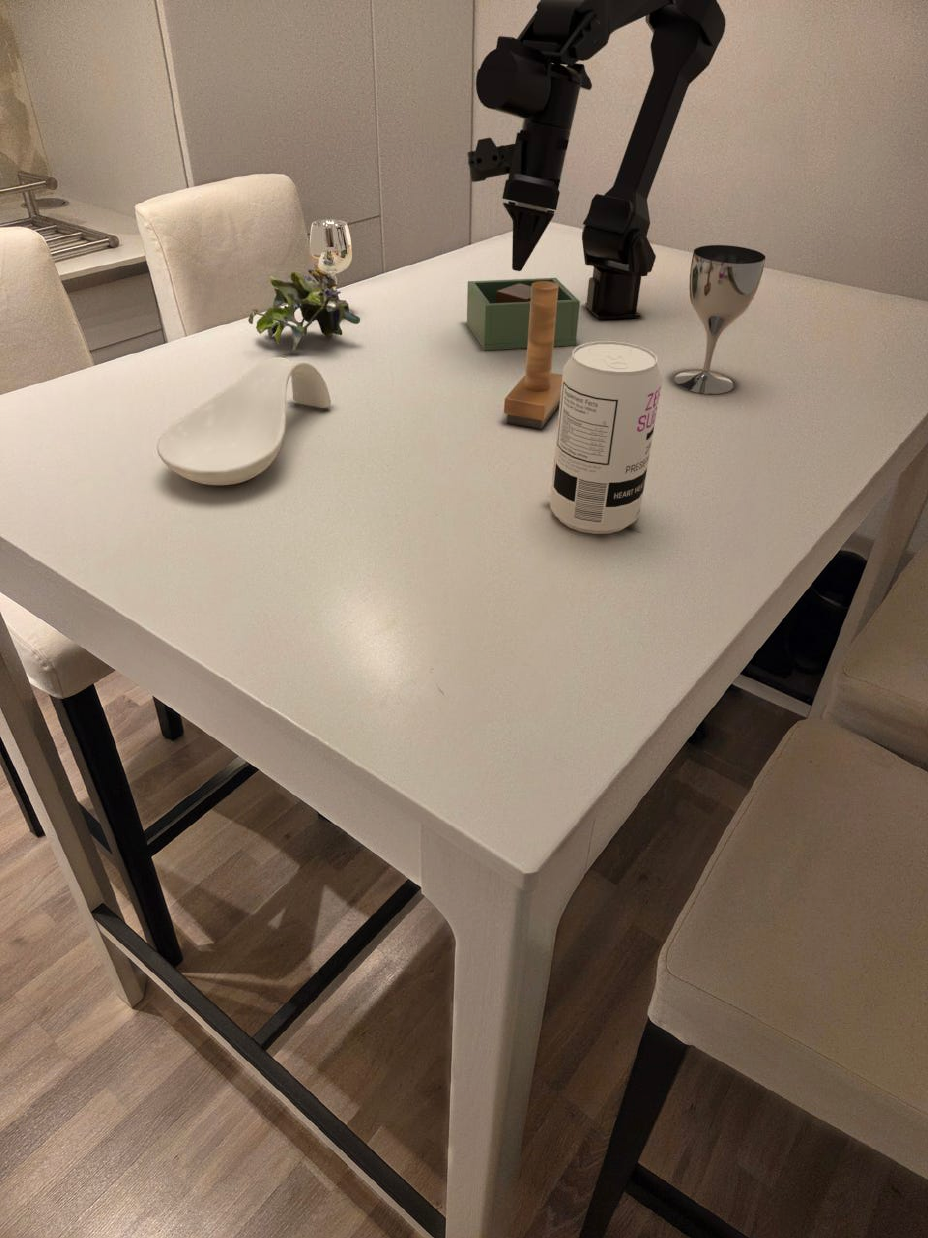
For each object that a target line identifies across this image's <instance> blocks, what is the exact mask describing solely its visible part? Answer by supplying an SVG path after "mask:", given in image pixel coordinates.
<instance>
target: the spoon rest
mask: <svg viewBox="0 0 928 1238" xmlns="http://www.w3.org/2000/svg"><path fill="white" fill-rule="evenodd" d="M290 379H291V393H292V400H293V401H294V402H296V403H298V404H300V405H304V406H312V407H316V408H328V407H330V406H331V404H332V399H331V396H330V392H329V388H328V385H327V383H326V381H325V379H324V377H323V375H322V374H321V372H320V371H319V370H318V368H317V367H316V366H315V365H313V364H312V363H310V362H307V361H303V360H302V361H301V360H299V361H293V360H291V359H289V358H285V357H279V356H278V357H276V356H275V357H270V358H268V359H265V360H263V361H261V362H260V363H258V364H256V365H255V366H254V367H252V368H251V369H249V371H247V372H245V374H243V375H242V376H241V377H239V378H238V379H236V380H235V381H234V382H232V383H230V384H229V385H228V386H227V387H225V388H224V389H223V390H221V391H220V392H218V393H216V394H215V395H214V396H212V397H211V398H209V399H208V400H206V401H204V402H203V403H201V404H200V405H198V406H197V407H195V408H193V409H192V410H191V411H189V412H188V413H186V414H185V415H183V416H182V417H180V418H179V419H177V420H176V421H174V422H173V423H172V424H171V425H169V426H167V428H166V429H165V430H164V431H163V433H162V434H161V435H160V437H159V438H158V441H157V444H156V449H157V453H158V456H159V458H160V459H161V461H162V462H163V464H164V465H166V466H167V467H168V468H169V469H170V470H172V472H174V473H176V474H178V475H179V476H181V477H183V478H184V479H187V480H189V481H192V482H195V483H198V484H203V485H207V486H230V485H238V484H241V483H244V482H247V481H250V480H252V479H254V478H256V476H258V475H260V474H261V473H263V472H264V471H265V470H266V469H267V468H268V467H270V465H271V464H272V463H273V462H274V461H275V459H276V457H277V456H278V454H279V452H280V450H281V447H282V444H283V441H284V438H285V433H286V427H287V425H286V424H287V392H288V384H289V380H290Z"/></svg>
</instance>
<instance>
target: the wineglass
mask: <svg viewBox="0 0 928 1238" xmlns="http://www.w3.org/2000/svg"><path fill="white" fill-rule="evenodd" d="M309 255H310V258H311V261H312V264H313V265H314V267H315V268H316V269H319V270H321V271H322V272H323V273H324V274H326V273H328V274H329V275H330V276H331V277H332V278H333V279H334V280H335V281H336V284H337V285H338V279H337V276H336V274H339V273H342V272H343V271H345V270H346V269H348V268H349V267H350V265H351V263H352V261H353V243H352V238H351V233H350V230H349V225H348V223H347V222H346V221H344V220H339V219H320V220H316V221H313V222H312V223H311V228H310V235H309ZM333 289H334V290H337V286H335V287H333ZM350 313H352V311H350Z"/></svg>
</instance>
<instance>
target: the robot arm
mask: <svg viewBox="0 0 928 1238" xmlns="http://www.w3.org/2000/svg"><path fill="white" fill-rule="evenodd" d="M644 17H645V19H644V20H645V23H646V24H647V26H648V27H649V29H650V30H651V32H652V37H651V41H650V44H649V45H650V47H649V48H650V54H651V60H652V67H653V71H652V75H651V78H650V80H649V83H648V86H647V89H646V92H645V94H644V97H643V101H642V103H641V106H640V109H639V111H638V115H637V117H636V120H635V123H634V125H633V127H632V128H633V129H632V131H631V134H630V137H629V140H628V143H627V145H626V149H625V151H624V153H623V157H622V159H621V163H620V165H619V168H618V171H617V174H616V177H615V179H614V182H613V184H612V186H611V187H610V188H609V189H608V191H605V193H604V194H600V193H596V194H595V195H594V196H593V198H592V199H591V202H590V206H589V210H588V213H587V215H586V217H585V219H584V221H583V222H582V225H583V229H582V232H581V243H582V249H583V251H582V252H583V259H584V265H585V266H588V267H589V266H591V267H593V270H592V276H590V277H589V278H588V286H587V294H586V302H585V304H584V306H585V308H586V309H588V310H589V311H590V313H592V314H593V316H595V317H596V318H597V319H598V320H616V319H617V320H618V319H636V318H641V315H642V313H641V312H640V311H639V310H638V305H639V296H640V289H641V282H642V277H647V276H648V274H649V273H651V272H652V271H653V268H654V266H655V265H654V264H655V262H656V258H657V255H656V254H655V251H654V249H653V247H652V245H651V242H650V240H649V239H648V237H647V236H648V232H649V229H650V226H651V218H650V211H649V205H648V199H649V196H650V195H649V194H650V192H651V189H652V186H653V184H654V181H655V178H656V175H657V173H658V170H659V168H660V165H661V163H662V159H663V156H664V154H665V151H666V148H667V145H668V143H669V140H670V137H671V135H672V132H673V129H674V127H675V124H676V122H677V118H678V116H679V113H680V110H681V108H682V105H683V102H684V99H685V96H686V94H687V91H688V88H689V87H690V85H691V84H692V83H693V81H695V80H696V79H697V78H698V77H699V76H700V75H701V74H702V73H703V72H704V71H705V70H706V69H707V68H708V67H709V66H710V64H711V62H712V59H713V57H714V55H715V53H716V51H717V49H718V47H719V45H720V43H721V41H722V39H723V37H724V35H725V31H726V16H725V14H724V12H723V10H722V8H721V5H720V3H718V0H539V1H538V2H537V5H536V10H535V12H534V13H533V15H532V17H530V19H529V21H528V22H527V24H526V25H525V27H524V28H523V30H522V31H521V32H520V33H519V35H518V37H516V38H515V37H513V36H505V35H503V36H502V35H499V36H498V37H497V41H496V47H495V48H494V49H492V50H491V51H490V52H488V53H487V55H486V56H485V57H484V59H483V60H482V63H481V64H480V67H479V68H478V69H477V72H476V76H475V90H476V91H475V92H476V95H477V98H478V100H479V102H480V103H481V105H482V106H484V107H485V108H487V109H489V110H493V111H496V112H499V113H503V114H506V115H509V116H511V117H516V118H519V119H522V120H523V121H522V125H521V129H520V130H519V132H518V131H517V132H516V138H515V142H514V143H509V144H503V145H499V146H497V145H496V143H495V141H494V140H493V139H492V137H485V138H482V139H481V138H480V139H478V140H477V143H476V146H475V150H470V151H468V152H466V154H467V164H468V169H469V176H470V182H472V183H476V182H484V181H485V180H487V179H489V178H494V177H495V178H496V177H499V176H500V177H501V176H506V175H508V177H507V179H506V180H505V182H504V188H503V192H502V193H503V194H502V198H501V199H503V200H507V202H506V201H505V202H502V205H503V207H504V209H505V210H506V212H507V214H508V215H509V217H510V219H511V220H512V251H511V252H512V253H511V254H512V255H511V256H512V257H511V269H512V271H516V272H521V271H522V270H523V269H524V267H525V265H526V264H527V262H528V260H529V259H530V257H531V255H532V253H533V251H534V250H535V248H536V246H537V245H538V243H539V241H540V240H541V239H542V236H543V235H544V233H545V232H546V230H547V228H548V226H549V224H550V223H551V221H552V220H553V218H554V216H555V211H557V207H558V203H559V199H560V194H561V192H560V190H559V189H560V184H561V178H562V174H563V169H564V165H565V161H566V155H567V150H568V147H569V142H570V137H571V132H572V127H573V123H574V119H575V113H576V110H577V109H576V108H577V105H578V99H579V95H580V91H581V90H583V91H584V90H585V91H591V90H592V88H593V83H592V81H591V78H590V77H589V75H588V73H587V71H586V67H585V64H583V63H578V62H579V61H580V62H584V61H589V60H590V59H592V58H593V57H594V56H595V55H597V54H598V53H599V52H600V51H602V49H604V48H605V47H606V46H607V45H608V44H609V39H610V37H611V35H612V34H613V33H614V32H616V31H618V30H620V29H622V28H624V27H626V26H628V25H630V24H632V23H634V22H636V21H638V20H640V19H642V18H644Z"/></svg>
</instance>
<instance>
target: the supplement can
mask: <svg viewBox="0 0 928 1238" xmlns="http://www.w3.org/2000/svg"><path fill="white" fill-rule="evenodd" d="M562 375H563V376H562V387H561V397H560V404H559V406H558V407H559V408H558V409H559V410H558V417H557V419H558V420H557V429H556V438H555V439H556V440H555V448H554V459H553V468H552V469H553V470H552V481H551V491H550V502H549V505H550V506H549V508H550V510H551V512H552V513H553V515H554V516H555V517H556V518H557V519H558V520H559V521H560V523H562V524H563V525H565V526H566V527H568V528H569V529H572V530H575V531H577V532H580V533H585V534H593V535H609V534H613V533H617V532H621V531H622V530H624V529H626V528H627V527H629V526H630V525H632V524H634V523H635V522H636V521H637V520H638V517H639V516H640V513H641V506H642V501H643V497H644V491H645V489H644V488H645V485H646V484H645V483H646V477H647V472H648V466H649V460H650V456H651V455H650V453H651V449H652V443H653V436H654V432H655V431H654V430H655V426H656V419H657V414H658V413H657V412H658V407H659V401H660V397H661V390H662V384H663V377H662V374H661V370H660V368H659V365H658V357H657V354H656V353H654V352H652V351H651V350H650V349H648V348H645V347H643V346H641V345H637V344H633V343H629V342H623V341H614V340H609V341H608V340H606V341H605V340H603V341H602V340H599V341H592V342H591V341H590V342H586V343H583V344H580V345H578V346H575V348H574V349H573V350H572V351H571V356H570V357H569V358H568V360H567V361H566V363H565V365H564V366H563V369H562Z"/></svg>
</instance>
